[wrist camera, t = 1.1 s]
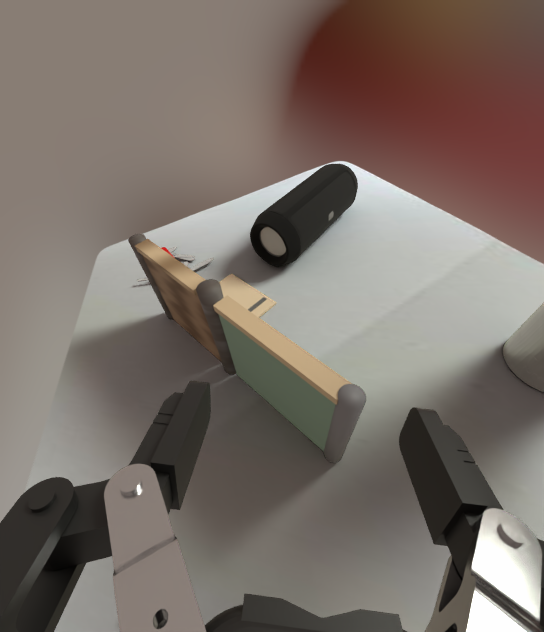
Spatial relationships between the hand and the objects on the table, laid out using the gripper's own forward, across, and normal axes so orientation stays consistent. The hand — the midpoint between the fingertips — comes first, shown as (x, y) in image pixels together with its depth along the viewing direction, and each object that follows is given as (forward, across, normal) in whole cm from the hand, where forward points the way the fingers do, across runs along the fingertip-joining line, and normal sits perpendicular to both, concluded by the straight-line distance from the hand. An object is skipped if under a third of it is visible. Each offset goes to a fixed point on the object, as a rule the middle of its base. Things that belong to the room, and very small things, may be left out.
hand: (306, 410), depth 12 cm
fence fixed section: (+27, +13, +16) cm, 34 cm away
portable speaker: (+52, -2, +4) cm, 53 cm away
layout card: (+34, +9, +13) cm, 37 cm away
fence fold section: (+17, 0, +18) cm, 25 cm away
